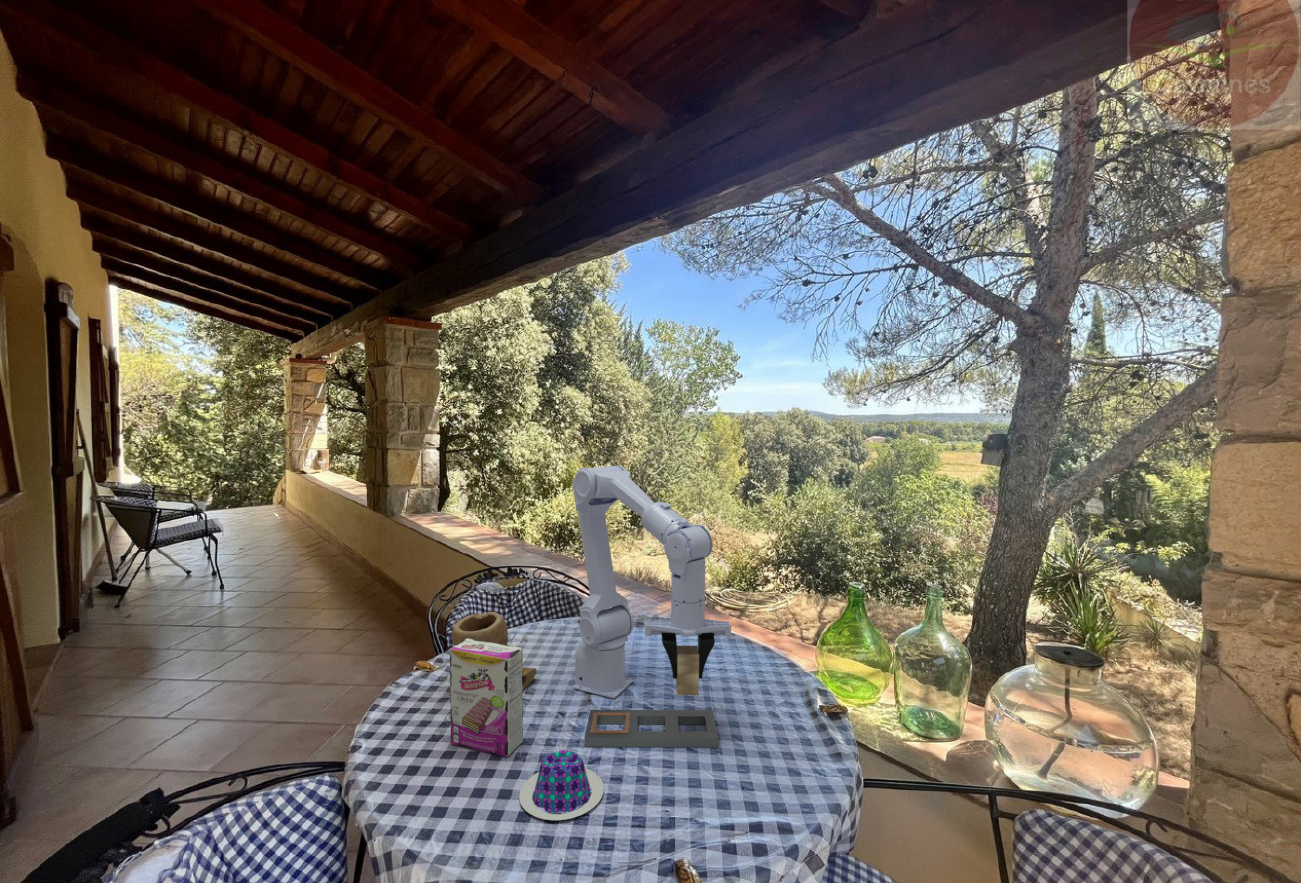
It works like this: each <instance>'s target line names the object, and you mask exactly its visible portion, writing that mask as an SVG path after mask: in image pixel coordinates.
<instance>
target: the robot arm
mask: <svg viewBox="0 0 1301 883" xmlns="http://www.w3.org/2000/svg"><path fill="white" fill-rule="evenodd" d="M572 489H573V498H574V504H575V511H576V510H577V512H578V513H577V514H578V515H577V516H578V521H579V527H580V528H579V529H580V537H581V542H582V548H583V554H584V562H585V569H586V576H587V583H588V584H587V585H588V591H589V596H588V598H587V599H586V600H585V602H584V603H583V604H582V605H581V606H580V608H579V614H580V621H579V627H578V628H579V634H580V637H581V641H580V642H579V644H578V646H577V648H576V651H575V658H574V659H575V660H574V661H575V664H574V665H575V668H574V669H575V670H574V671H575V684H574V685H572V687H573V689H574V690H577V689H578V690H577V691H582V692H587V693H589V694H593V695H594V694H595V695H597V696H602V697H607V698H610V699H616V698H617V697H618V696H619V695H620V694H621V693H622V692H624V691H625V690H626V689H627V688H628V687H630V685H631V684H632V683H633V681H634V680H633V679H632V678H629V677H625V675H626V674H625V668H626V667H625V666H626V665H625V664H626V663H625V661H626V658H625V654H626V653H625V652H626V650H625V648H626V647H625V645H626V642H628V639H629V638H628V637H629V636H630V635H631V633H632V632H633V630H634V625H635V624H634V616H633V613H632V612H631V610H630V607H629V602H628V599H627V598H626V597H625V596H624V595H622V594H620V593H619V592H617V587H616V580H615V572H614V566H613V565H614V564H613V561H612V560H613V559H612V552H611V547H610V539H609V533H608V527H607V519H606V514H607V512H608V510H609V509H610V508H611V507H612V506H613V505H614V504H615V503H617V502H618V501H620V502H621V503H622V504H624V505H625V506H626V507H628V508H629V509H630V510H632V511H633V512H635V513H636V514H637V515H638V516H640V517H641V525H642V527H643V528H644V529H645V530H646V531H647V532H648V533H649V534H651V536H652V537H654V538H655V539H656V540H657V541H658V542H660V544H661V545H663V551H664V554H665V556H666V557H667V561H668V569H669V572H670V574H671V578H670V579H671V585H670V586H671V588H670V590H671V592H670V594H671V595H670V596H671V598H670V600H671V601H670V618H665V619H659V620H658V619H657V620H645V621H644V636H645V637H651V636H652V635H653V636H655V635H656V636H657V635H659V636H661V642H662V647H663V648H664V650H665V652H666V654H667V657H668V660H669V662H670V666H671V671H672V679H675V680H676V679H677V663H676V656H677V646H678V644H677V643H678V642H677V635H678V636H681V635H682V636H684V637H694V636H697V647H698V652H699V680H702V679H703V675H704V670H705V665H706V663H707V660H708V658H709V655H710V653H711V652H712V651H713V648H714V646H715V643H716V640H715V636H724V637H726V638H729V637H732V624H731V622H730V621H727V620H725V621H724V620H723V621H722V620H715V619H708V618H706V617H705V614H706V601H705V600H706V558H709V556H710V555H711V553H712V551H713V547H714V543H713V537H712V535H711V533H710V532H709V531H708V529H707V528H706V527H705V525H703V524H692V523H690V522H689V520H687V519H686V518H684V517H682V516H681V515H680V514H679V513H677V512H676V511H675V510H674V509H672V506H671V504H670V503H669V502H663V501H657V502H654V500H653V499H652V498H651V497H650V496H648V495H647V494H646V493H645V491H643V490H642V489H641V488H640V487H639V486H638V484H636V483H635V482H634V481H633V480H632V475H631V472H630V471H628V470H626V468H625V467H624V466H623V465H620V464H619V465H618V464H617V465H612V466H601V467H600V466H599V467H581V468H580V469H579V470H578V471H577V472H576V474H575V476H574V478H573V480H572Z"/></svg>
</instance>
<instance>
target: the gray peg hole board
mask: <svg viewBox="0 0 1301 883" xmlns="http://www.w3.org/2000/svg"><path fill="white" fill-rule="evenodd" d="M599 725H624V726H623V728H624V729H620V730H619V729H618V730H617V729H616V730H614V729H607V730H606V729H598V727H599ZM639 725H664V728H665V730H663V731H662V730H658V731H657V730H656V731H655V730H643V731H642V730H639V729H638V726H639ZM680 725H681V726H682V725H684V726H685V725H689V726H691V725H693V726H694V725H695V726H696V725H697V726H698V725H703V726H704V728H705V730H703V731H702V730H701V731H693V730H692V731H691V730H690V731H685V730H683V731H682V730H681V731H680V728H679V726H680ZM583 739H584V740H583V741H584V747H585V748H719V743H720V742H719V735H718V729H717V724H716V720H715V715H714V710H713V709H712V710H710V709H701V710H699V709H590V710H589V713H588V719H587V724H586V729H585V734H584V738H583Z"/></svg>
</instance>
